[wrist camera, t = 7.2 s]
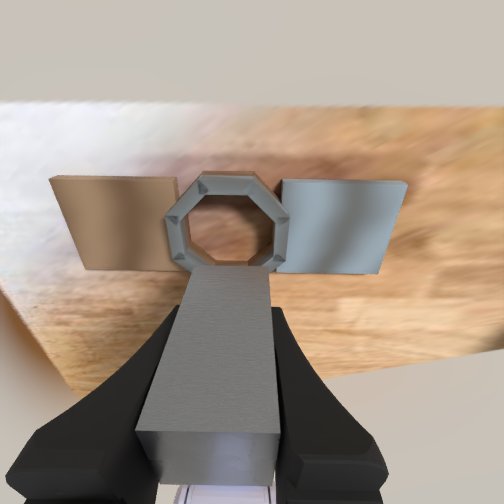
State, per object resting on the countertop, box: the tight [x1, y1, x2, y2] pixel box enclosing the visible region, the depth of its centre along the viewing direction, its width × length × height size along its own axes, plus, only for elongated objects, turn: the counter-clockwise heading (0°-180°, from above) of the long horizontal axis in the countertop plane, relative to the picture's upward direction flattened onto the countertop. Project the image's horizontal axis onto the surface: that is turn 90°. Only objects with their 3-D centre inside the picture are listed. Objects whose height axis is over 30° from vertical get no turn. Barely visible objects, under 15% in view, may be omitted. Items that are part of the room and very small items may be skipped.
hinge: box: [49, 171, 408, 274], centre depth 20 cm, size 26×9×2 cm, turn 89°
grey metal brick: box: [135, 265, 281, 486], centre depth 11 cm, size 4×4×8 cm
